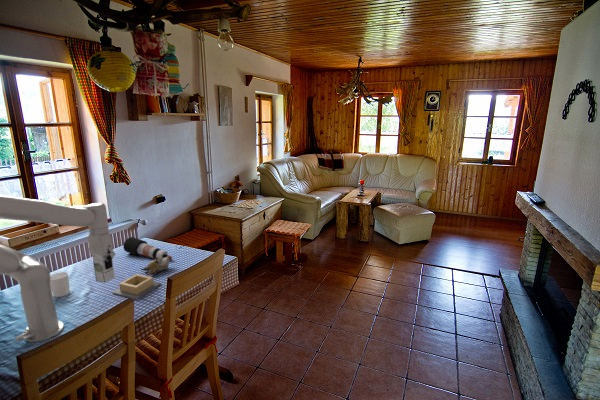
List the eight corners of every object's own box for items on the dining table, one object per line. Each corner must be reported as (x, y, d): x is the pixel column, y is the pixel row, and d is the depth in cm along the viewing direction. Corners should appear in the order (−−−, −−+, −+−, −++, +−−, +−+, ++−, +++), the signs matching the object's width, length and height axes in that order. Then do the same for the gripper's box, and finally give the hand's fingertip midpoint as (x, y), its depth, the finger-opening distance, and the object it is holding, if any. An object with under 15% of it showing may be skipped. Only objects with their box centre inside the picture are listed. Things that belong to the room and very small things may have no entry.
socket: (136, 300, 158) (135, 291, 157) (112, 293, 163) (111, 285, 162) (161, 284, 173) (160, 276, 171) (137, 279, 178) (136, 271, 177)
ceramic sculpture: (171, 256, 186) (144, 265, 177) (174, 270, 189) (147, 280, 179) (164, 251, 194) (138, 259, 184) (167, 264, 196) (141, 273, 187)
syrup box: (115, 277, 154) (112, 249, 151) (104, 283, 149) (101, 254, 145) (106, 275, 156) (102, 247, 152) (95, 281, 150) (91, 252, 147)
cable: (168, 269, 200) (162, 259, 193) (127, 255, 211) (120, 245, 204) (178, 256, 206) (173, 246, 200) (138, 243, 217) (132, 233, 211)
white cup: (49, 298, 159) (45, 280, 156) (56, 290, 166) (52, 273, 163) (67, 296, 161) (64, 278, 158) (73, 288, 168) (70, 271, 166)
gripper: (77, 230, 146) (82, 267, 150) (105, 235, 140) (110, 273, 144) (93, 225, 153) (97, 260, 157) (120, 230, 147) (124, 266, 151)
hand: (103, 266), depth 151 cm, fingers closed on syrup box, 5 cm apart
